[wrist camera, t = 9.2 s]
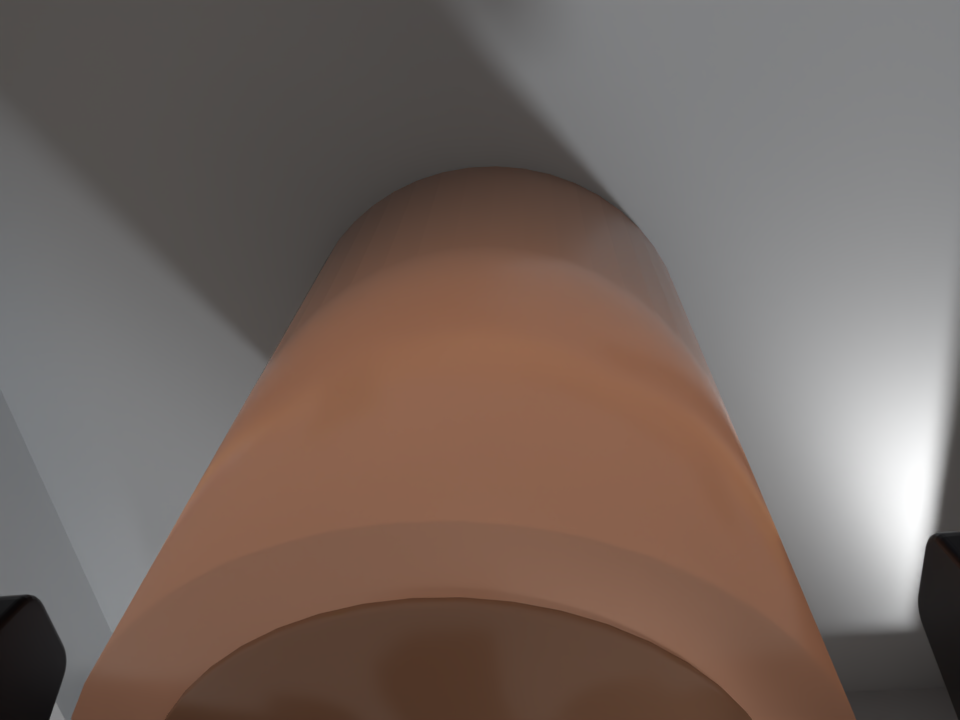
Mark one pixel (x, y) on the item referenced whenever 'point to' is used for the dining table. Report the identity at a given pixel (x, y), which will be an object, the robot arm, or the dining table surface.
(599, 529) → the terracotta cup
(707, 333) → the tray
